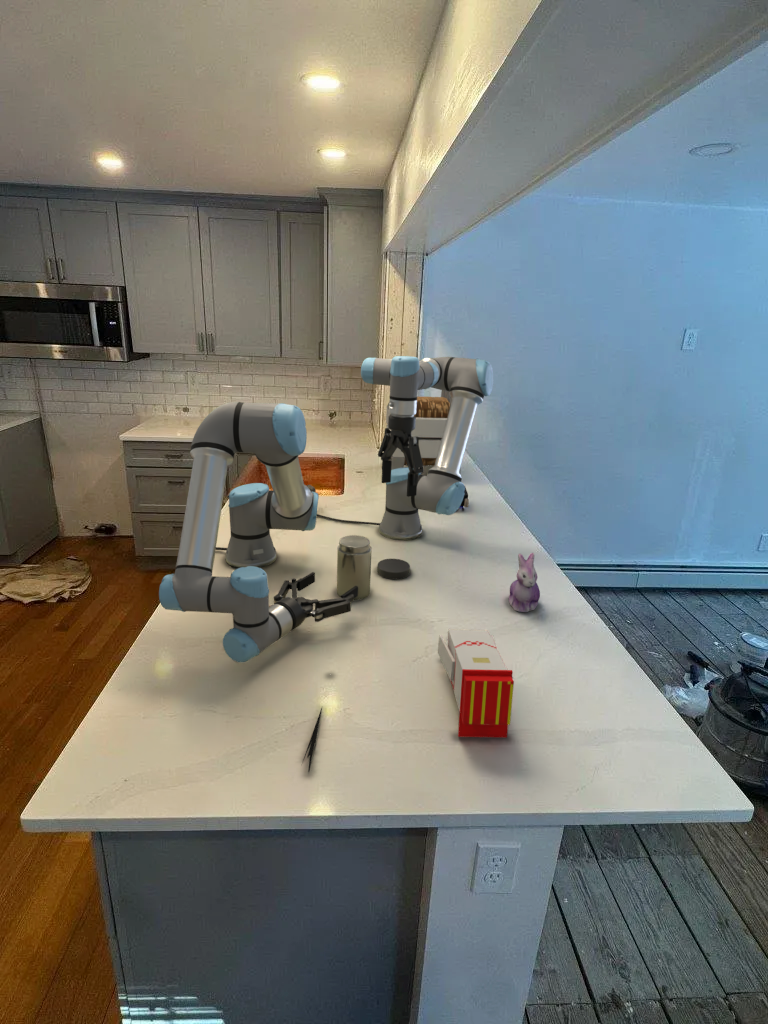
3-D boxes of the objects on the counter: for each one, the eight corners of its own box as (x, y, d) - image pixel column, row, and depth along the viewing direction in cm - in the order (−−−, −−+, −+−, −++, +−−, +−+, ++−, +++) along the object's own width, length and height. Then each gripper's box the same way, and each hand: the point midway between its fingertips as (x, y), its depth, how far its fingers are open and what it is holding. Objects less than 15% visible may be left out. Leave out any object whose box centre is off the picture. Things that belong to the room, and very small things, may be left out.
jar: (329, 593, 156) (330, 542, 151) (349, 581, 164) (351, 532, 158) (357, 603, 152) (358, 550, 146) (376, 590, 159) (378, 540, 154)
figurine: (522, 617, 148) (530, 565, 143) (498, 599, 157) (504, 549, 152) (549, 609, 153) (558, 559, 148) (524, 593, 161) (531, 544, 156)
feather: (331, 679, 122) (336, 673, 122) (307, 777, 96) (313, 769, 95) (324, 675, 122) (329, 669, 121) (298, 772, 95) (304, 764, 95)
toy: (488, 613, 130) (523, 677, 101) (484, 667, 133) (517, 744, 104) (435, 612, 130) (455, 676, 101) (432, 666, 133) (451, 743, 103)
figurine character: (468, 516, 224) (463, 500, 237) (471, 498, 221) (465, 483, 234) (452, 515, 224) (447, 499, 237) (453, 498, 220) (449, 482, 234)
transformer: (382, 463, 289) (386, 382, 275) (445, 464, 293) (451, 384, 279) (390, 482, 257) (394, 392, 243) (460, 483, 261) (468, 394, 247)
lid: (412, 567, 175) (412, 560, 174) (406, 581, 166) (407, 574, 165) (380, 563, 176) (381, 556, 176) (374, 576, 167) (374, 570, 166)
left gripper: (241, 616, 138) (297, 583, 155) (325, 649, 126) (375, 610, 143) (240, 589, 135) (296, 558, 152) (325, 619, 124) (376, 583, 141)
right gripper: (368, 408, 163) (365, 478, 170) (416, 424, 143) (411, 503, 150) (390, 406, 167) (387, 476, 174) (440, 422, 147) (434, 499, 154)
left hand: (334, 583), depth 148 cm, fingers open, 13 cm apart
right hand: (398, 489), depth 162 cm, fingers open, 13 cm apart
